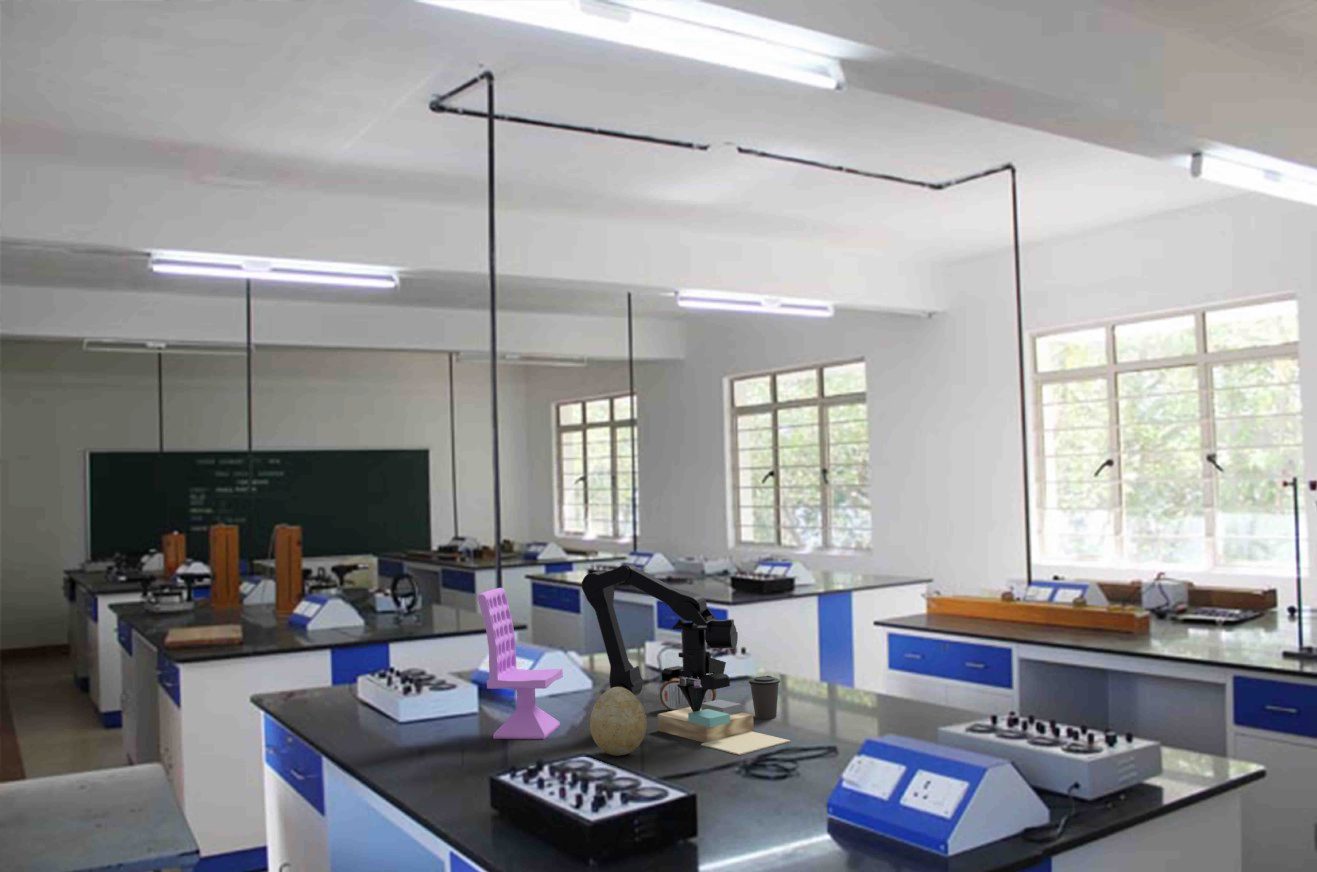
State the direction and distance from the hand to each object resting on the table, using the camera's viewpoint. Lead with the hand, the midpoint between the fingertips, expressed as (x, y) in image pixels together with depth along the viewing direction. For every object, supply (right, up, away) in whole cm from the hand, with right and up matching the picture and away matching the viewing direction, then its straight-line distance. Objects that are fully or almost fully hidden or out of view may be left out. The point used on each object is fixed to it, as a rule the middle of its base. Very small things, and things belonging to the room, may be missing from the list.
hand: (696, 713), depth 247 cm
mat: (+11, -4, -9) cm, 15 cm away
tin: (-1, -7, +28) cm, 29 cm away
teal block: (+3, -1, -4) cm, 5 cm away
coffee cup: (+18, -6, +17) cm, 26 cm away
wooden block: (+2, -5, +4) cm, 7 cm away
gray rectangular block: (+6, -1, +6) cm, 9 cm away
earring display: (-43, -7, +10) cm, 45 cm away
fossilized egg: (-18, -5, -15) cm, 24 cm away
